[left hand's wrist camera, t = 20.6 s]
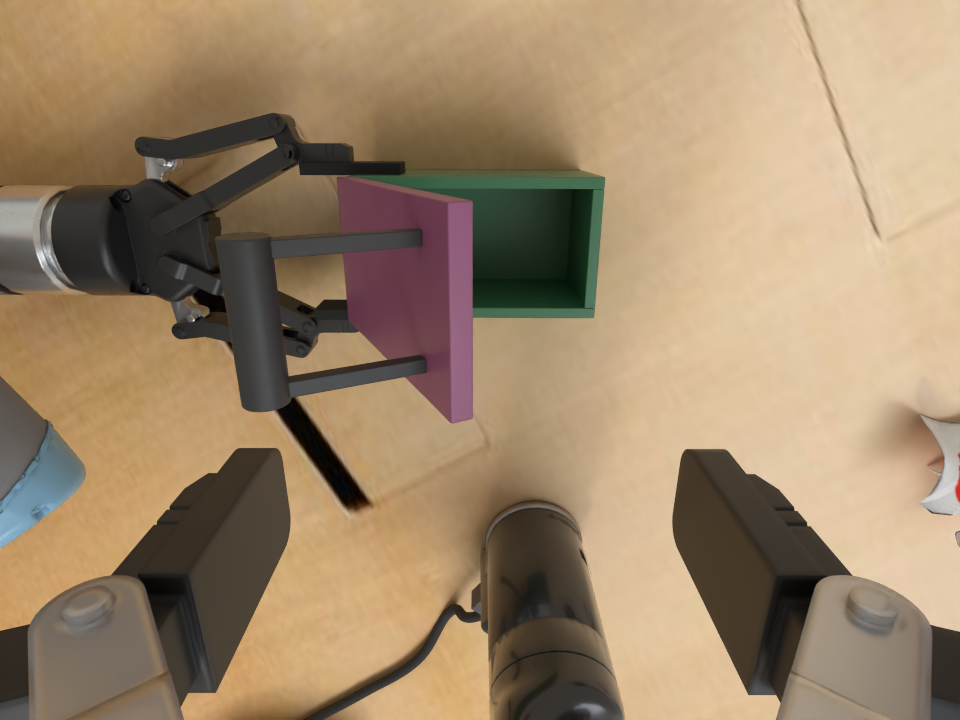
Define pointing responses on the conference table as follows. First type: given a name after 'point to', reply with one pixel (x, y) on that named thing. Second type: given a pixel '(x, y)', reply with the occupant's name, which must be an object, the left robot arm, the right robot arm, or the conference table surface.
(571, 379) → the conference table surface
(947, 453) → the fish
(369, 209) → the lid
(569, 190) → the chest
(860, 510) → the conference table surface
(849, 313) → the conference table surface
